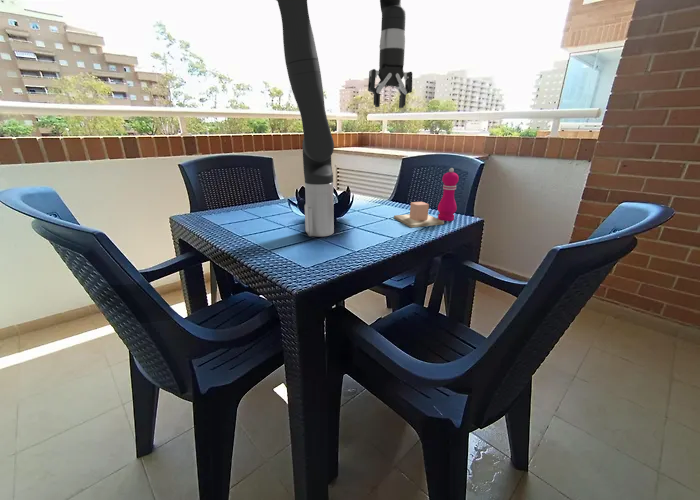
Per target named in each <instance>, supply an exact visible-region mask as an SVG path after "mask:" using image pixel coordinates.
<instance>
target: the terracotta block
mask: <svg viewBox="0 0 700 500" xmlns="http://www.w3.org/2000/svg"><path fill="white" fill-rule="evenodd" d="M429 208H430V204H429V203H426V202H424V201H413V202H410V207H409V214H410V218H412V219H414V220H416V221H419V220H427V219H428V215H429Z"/></svg>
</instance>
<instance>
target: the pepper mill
mask: <svg viewBox="0 0 700 500" xmlns="http://www.w3.org/2000/svg"><path fill="white" fill-rule="evenodd" d="M454 169H455V168H453V167H450V168H449V169H448V172H446V173H444V174H443V175H442V183H443V185H442V189H443V193H442V197H441V199H440V201H439V203H438V205H437V211H438V215H437V219H439V220H441V221H444V222H453V221H454V220H455V213H456V212H457V208H458V207H457V202H456V200H455V192H456V191H455V190H457V184H458V183H459V175H458V174H457V173H456V172H454V171H455V170H454Z"/></svg>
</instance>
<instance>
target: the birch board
mask: <svg viewBox="0 0 700 500" xmlns="http://www.w3.org/2000/svg"><path fill="white" fill-rule="evenodd" d="M393 219H395V220H397V221H398V222H401V223H402V224H404V225H405V226H408V227H410V228H420V227H428V226H429V227H431V226H439V225H444V224H445V221H442V220H439V219H438V217H435V216H432V215H430V214H428V219H427V220H419V221H416V220H414V219H412V218H410V213H408V214H397V215H393Z"/></svg>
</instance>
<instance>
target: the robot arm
mask: <svg viewBox="0 0 700 500" xmlns="http://www.w3.org/2000/svg"><path fill="white" fill-rule="evenodd" d="M275 1H276V2H277V3H278V4H277V5H278V8H279V12H280V17H281V18H280V19H281V26H282V41H283V53H284V61H285V66H286V71H287V75H288V80H289V84H290V88H291V91H292V94H293V97H294V99H295V102H296V104H297V109H298V110H299V114H300V118H301V125H302V131H303V132H302V133H303V140H302V145H301V146H302V147H301V148H302V160H303V161H302V164H303V165H302V166H303V175H304V191H305V196H304V197H305V204H304V224H305V225H304V227H305V232H306V234H307V236H308V237H328V236H331V235H333V234H334V232H335V229H334V228H335V225H334V222H335V219H334V218H335V217H334V214H335V213H334V211H335V210H334V206H335V205H334V172H333V167H332V166H333V165H332V156H333V153H334V150H335V143H334V139H333V135H332V133H331V127H330V125H329V120H328V117H327V113H326V107H325V95H324V88H323V87H324V86H323V80H322V71H321V67H320V62H319V58H318V57H319V56H318V52H317V47H316V42H315V37H314V33H313V29H312V28H313V27H312V23H311V19H310V14H309V8H308V7H309V6H308V0H275ZM379 4H380V5H379V6H380V11H381V12H380V13H381V29H380V31H381V32H380V39H379V60H378V61H379V63H378V64H379V65H378V66H379V68H378V70H376V68H373V69H371V70H369V73H368V83H367V84H368V85H367V91H368V92H369V93H370V92H371V93H372V94H373V106H374V108H380V104H381V93H380V92H381V91H382V90H383V88H384V87H391V88H395V89H396V90H397V91H398V92H399V99H398V108H399V109H403V108H404V107H405V106H406V99H407V95H408V94H411V93H412V92H413V72H412V71H406V72H404V65H405V48H406V35H405V34H406V33H405V32H406V10H405V9H404V7H402V3H401V0H379ZM377 77H378V78H379V79H380V80H379V81H378V83H377V84H376V78H377ZM402 79H404V81H403V80H402Z"/></svg>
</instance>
